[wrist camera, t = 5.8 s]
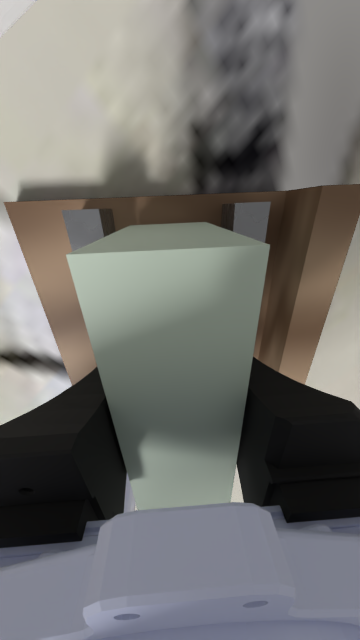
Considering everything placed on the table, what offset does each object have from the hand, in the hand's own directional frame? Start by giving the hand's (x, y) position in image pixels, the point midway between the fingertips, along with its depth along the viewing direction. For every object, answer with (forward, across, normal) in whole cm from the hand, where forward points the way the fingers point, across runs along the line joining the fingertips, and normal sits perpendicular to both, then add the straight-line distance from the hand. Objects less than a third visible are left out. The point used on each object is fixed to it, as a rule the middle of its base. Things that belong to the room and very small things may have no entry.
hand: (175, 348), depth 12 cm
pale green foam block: (+3, 0, 0) cm, 3 cm away
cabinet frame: (+4, 0, 0) cm, 4 cm away
